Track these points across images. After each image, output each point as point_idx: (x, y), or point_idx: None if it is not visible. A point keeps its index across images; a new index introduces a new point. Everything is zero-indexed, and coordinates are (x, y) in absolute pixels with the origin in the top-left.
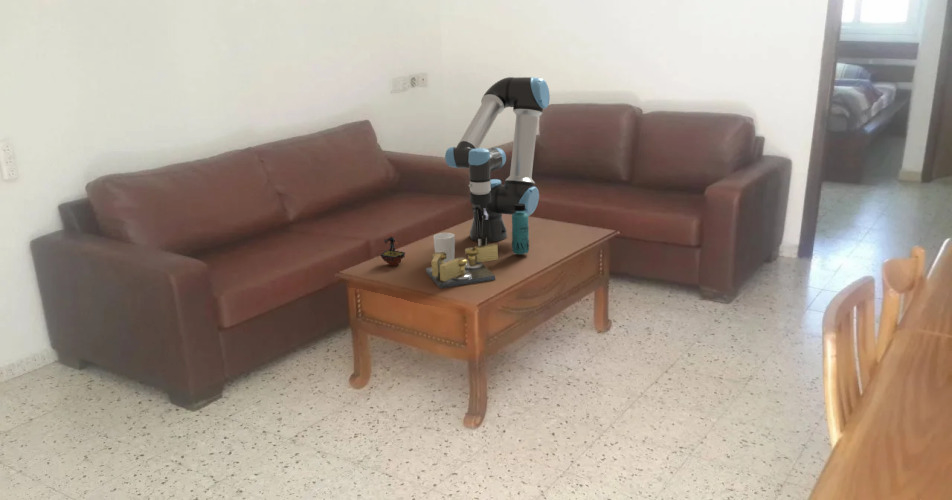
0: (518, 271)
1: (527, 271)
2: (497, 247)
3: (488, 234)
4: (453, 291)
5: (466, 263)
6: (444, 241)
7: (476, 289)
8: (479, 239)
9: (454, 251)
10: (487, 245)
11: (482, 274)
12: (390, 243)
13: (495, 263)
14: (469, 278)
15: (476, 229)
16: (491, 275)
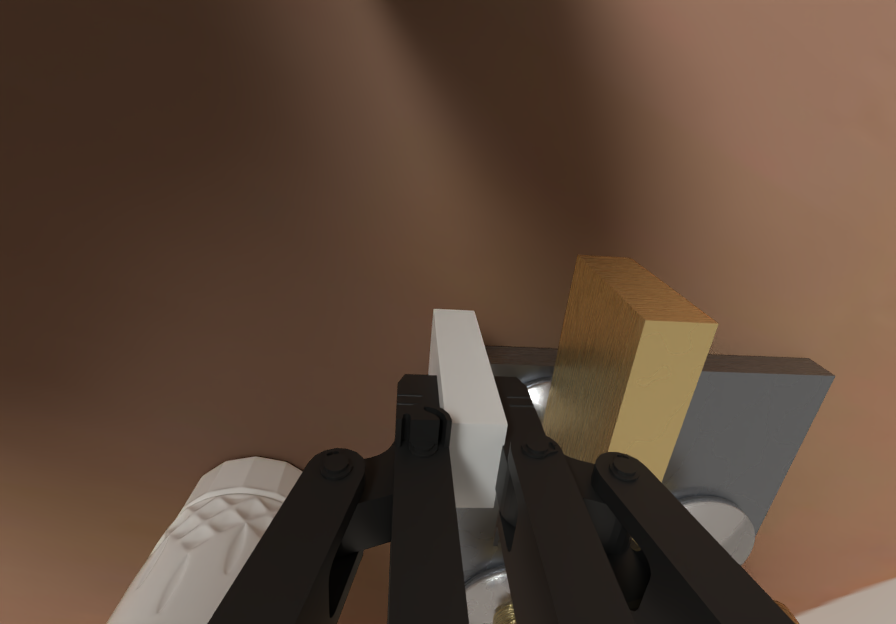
0: (805, 123)
1: (870, 42)
2: (698, 309)
3: (677, 504)
4: (768, 581)
5: (795, 620)
6: None
7: (839, 493)
8: (492, 498)
9: (267, 518)
10: (640, 427)
11: (750, 438)
12: None
13: (498, 214)
14: (748, 517)
15: (343, 599)
16: (813, 396)
